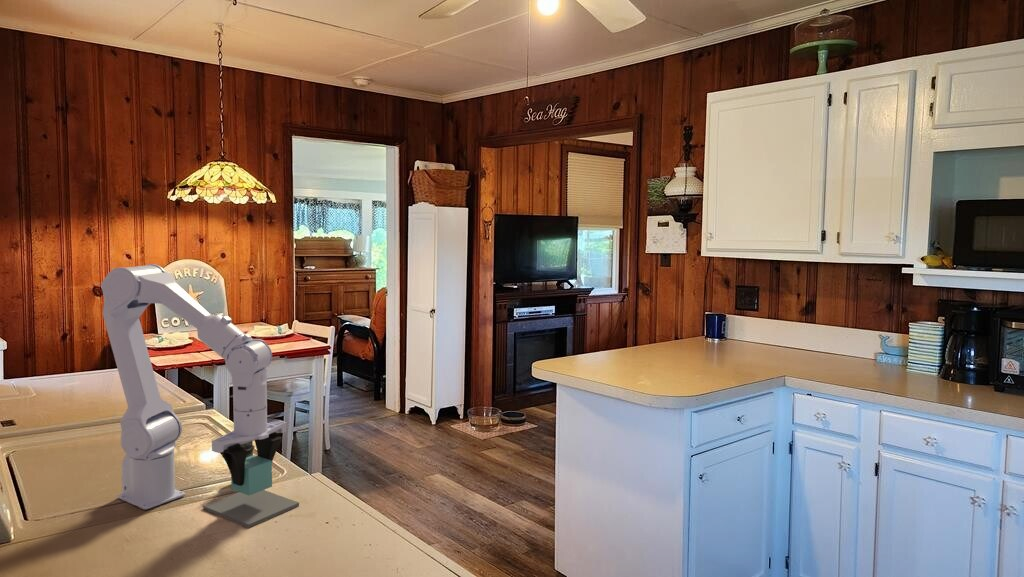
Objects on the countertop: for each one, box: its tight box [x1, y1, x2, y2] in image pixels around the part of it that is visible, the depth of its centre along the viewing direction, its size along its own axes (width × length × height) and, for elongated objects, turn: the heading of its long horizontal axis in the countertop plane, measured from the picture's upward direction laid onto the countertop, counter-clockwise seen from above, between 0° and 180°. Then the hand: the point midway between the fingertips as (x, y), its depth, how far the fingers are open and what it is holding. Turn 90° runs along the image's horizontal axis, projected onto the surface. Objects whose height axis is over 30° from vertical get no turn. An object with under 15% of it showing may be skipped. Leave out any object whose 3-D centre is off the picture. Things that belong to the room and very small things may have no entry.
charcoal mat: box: [202, 489, 300, 529], centre depth 125 cm, size 13×11×1 cm
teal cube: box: [230, 454, 273, 495], centre depth 124 cm, size 5×5×5 cm
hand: (251, 479), depth 124 cm, fingers closed on teal cube, 5 cm apart
